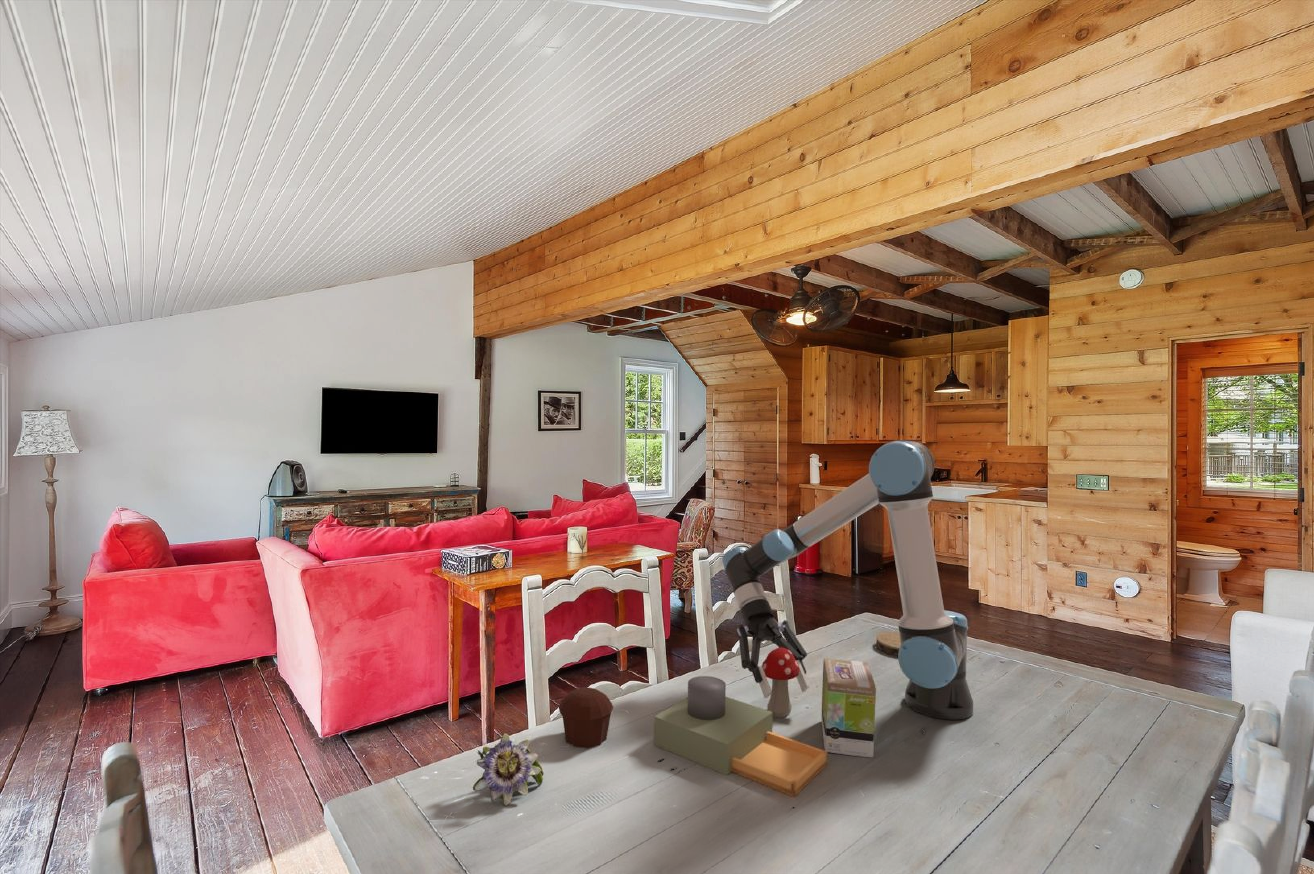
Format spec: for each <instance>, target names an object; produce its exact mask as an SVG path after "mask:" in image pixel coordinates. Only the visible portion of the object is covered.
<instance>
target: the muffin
mask: <svg viewBox="0 0 1314 874" xmlns="http://www.w3.org/2000/svg"><path fill="white" fill-rule="evenodd" d="M613 709H615V708H614V705H613V703H612V701H610V698H609V696H607V694H605V692H602V691H601V690H598V689H597V688H593V687H579V688H576V689H574V690H572V691H569V692H568V693H567V694H566V695H565V697H564V698H562V700H561V702H560V704H559V705H558V712H559V713H560V716H562V722H563V729H564V738H565V743H566V744H569V745H570V746H572V747H574V748H580V749H581V748H583V749H590V748H594V747H598V746H601V745H602V744H603V743H604V742H605V741H607V738H608V732H609V727H610V720H611V715H612V711H613Z"/></svg>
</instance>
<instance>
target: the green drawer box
mask: <svg viewBox="0 0 1314 874" xmlns="http://www.w3.org/2000/svg"><path fill="white" fill-rule="evenodd" d="M726 686H727V685H726V682H725V681H724V680H723V679H721V678H718V677H715V676H709V675H700V676H695V677H692V678H690V679H688V682H687V697H686V698H685V699H683V700H680V701H679V702H677V703H676V704H674V705H671V706H669V708H667V709H665V710H663V711H661V712H659V713H658V714H656V715H655V716H653V719H654V720H653V745H654V746H655V747H658V748H661V749H664V750H665V751H668V752H670V753H673V754H676V755H678V756H680V757H683V758H684V759H687V760H689V761H692V762H694V763H697V764H700V765H701V766H704V767H706V768H708V769H711V770H714V771H716V772H718V773H721V774H723V775H726V776H728V775H729V774H731V773H735V774H737V775H739V776H742V777H744V778H746V779H749V780H751V781H753V782H756V783H759V784H761V785H763V786H766V787H768V788H770V789H773V790H776V791H778V792H781V793H783V794H786V795H788V796H789V797H793V798H795V797H796V796H797V795H798V794H799V793H800V792H802V790H803V789H804V788H805V787H806V786H807V785H809V784H810V782H811V781H812V780H813V779H815V777H816V776H817V775H818V774H819V773H820V772H821V771H822V770H823V769H824V768H826V767H827V765H828V758H829V757H828V753H829V752H827V751H825V749H821V748H818V747H815V746H812V745H809V744H808V743H807V744H806V743H804V742H801V741H798V740H795V739H792V738H789V737H786V736H783V735H780V734H778V733H774V732H773V718H774V716H773V712H771V711H768V709H764V708H762V707H759V706H755V705H752V704H749V703H746V702H743V701H740V700H737V699H734V698H731V697H728V696H726V692H727V691H726Z"/></svg>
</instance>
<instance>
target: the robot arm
mask: <svg viewBox="0 0 1314 874" xmlns="http://www.w3.org/2000/svg"><path fill="white" fill-rule="evenodd" d="M934 470H935V459H934V455H933V454H932V452H931V450H930V449H928V447H927V446H925V445H924V444H922V443H921V442H918V441H915V440H894V441H890V442H886V443H885V444H883V445H882V446H880V447H879V448H878V449H876V451H874V453H873V455H872V456H871V458H870V461H869V464H868V473H866V475H864V476H863V477H861V478H860V479H858V480H857V481H855V482H854V483H852V484H851V485H849V486H848V487H846V488H845V489H843V490H842V491H840V492H839V493H837V494H836V495H834V496H833V497H831V498H829V499H828V500H826V501H824V502H823V503H822V504H820V505H819V506H817V507H816V508H815V509H813V510H811V511H810V512H809V513H807V514H805V515H804V516H802V517H801V518H800V519H798V520H796V521H794V523H792V524H790V525H789V526H787V527H786V528H784V529H782V530H781V529H779V528H777V529H774V530H772V531H771V532H769V533H767V534H765V535H764V536H763V537H762V538H761V539H760V540H759V541H757V542H755V543H754V544H753V545H752V546H751V547H748V548H746V547H742V546H737V547H734V548H732V549H729V550H727V551H726V552H725V553H724V554H723V556H722V564H723V567H724V574H725V575H726V576H727V577H726V578H727V579H728V581H729V582H728V583H729V584H730V586H731V589H732V592H733V595H734V598H735V601H736V604H737V606H738V609H739V610H740V614H741V617H742V620H743V623H744V624H745V625H743V624H740V625H739V627H737V629H736V630H735V633H736V635H737V638H738V642H739V652H740V661H741V667H742V669H744V670H746V669H747V670H748V671H749V672H750V673H752V676H753V679H754V681H755V683H756V684H759V686H760V689H761V693H762V696H763V698H764V699H767V698H770V696H771V693H772V688H771V686H770V683H769V680H768V678H767V677H766V675H765V672H764V670H763V667H762V664H761V665H759V662H760V661H759V660H760V654H761V653H760V652H761V643H763V642H765V641H766V642H769V641H770V642H772V644H775V645H776V646H777V648H786V649H788V650H789V651H790V652H791V653H792V654H793V655H794V657H795V660H796V661H797V663H798V665H799V670H800V672H799V675H798V676H797V677H796V680H797V682H798V685H799V687H800V690H801V691H802V693H805V692H806V691H807V690H808V689H809V688H810V687H811V686H810V683H809V681H808V678H807V676H806V674H807V669H806V667H805V665H804V662H803V660H804V659H806V657H807V656H808V653H807V652H806V650H805V648H804V647H803V645H802V644H801V642H800V641H799V640H798V638H797V637H796V635H795V634H794V632H793V631H792V630H791V627H790V625H789V621H788V620H787V619H784V620H783V621H782V622H781V621H779V622H778V621H777V620H776V619H775V618H774V611H773V609H772V606H771V605H770V602H769V601H768V596H767V595H766V592H765V589H764V587H763V585H762V583H761V580H760V577H761V576H763V575H765V574H766V573H767V572H769V571H770V570H772V569H774V568H775V567H777V566H779V565H780V564H782V563H784V562H786V561H788V560H790V559H793V558H796V557H797V556H800V555H801V554H802V553H803V552H804V551H806V550H808V548H810V547H812V546H813V545H815V544H817V543H819V542H820V541H822V540H823V539H825V538H826V537H828V536H830V535H831V534H833V533H835V531H837V530H839V529H840V528H842V527H844V526H845V525H846V524H849V523H850V522H851V521H854V519H856V518H858V517H859V516H861V515H863V514H864V513H866V512H867V511H869V510H871V509H872V508H874V507H876V506H878V505H881V506H882V507H884V508H885V509H886V512H887V516H888V524H889V529H890V530H889V531H890V536H891V542H892V544H891V545H892V550H893V556H894V561H895V568H896V575H897V580H898V589H899V595H900V601H901V607H902V608H901V609H902V613H903V615H902V616H901V617H900V618H899V620H898V621H897V626H898V632H899V634H900V641H901V646H900V648H899V652H898V653H899V654H898V657H897V659H898V665H899V667H900V669H901V671H902V673H903V675H904V676H905V677H906V678H907V679H908V680H909V681H908V683H907V685H906V688H905V692H904V702H905V704H906V705H907V706H908V707H909V708H910V709H912V710H914V711H915V712H917V713H919V714H922V715H925V716H928V717H932V718H936V719H940V720H941V719H942V720H947V721H948V720H950V721H952V720H953V721H955V720H956V721H957V720H965V719H968V718H970V717H972V716H973V714H974V701H973V697H972V694H971V691H970V690H971V689H970V688H969V684H968V680H967V655H968V654H967V652H968V649H967V647H968V630H969V627H968V619H967V617H966V616H965V615H964V614H961V613H959V612H955V611H952V610H951V611H950V610H945V608H944V603H943V601H944V600H943V596H942V595H943V594H942V590H941V589H942V588H941V582H940V576H939V571H938V564H937V559H936V558H937V557H936V552H935V551H936V550H935V546H934V540H933V534H932V533H933V532H932V527H931V521H930V516H929V515H930V514H929V510H928V509H929V508H928V505H929V503H930V502H931V501H932V500H933V498H934V495H933V493H934V492H933V487H932V480H931V478H932V476H933V474H934V472H935V471H934ZM748 634H750V635H751V636H752V639H751V645H752V646H751V654H750V646H749V637H748Z"/></svg>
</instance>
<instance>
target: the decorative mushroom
mask: <svg viewBox="0 0 1314 874" xmlns="http://www.w3.org/2000/svg"><path fill="white" fill-rule="evenodd" d="M761 665H762V667H763V670H764V672H765V675H766V678H767V679H770V680H771V683H772V684H771V691H772V693H771V694H770V696H769V700H768V703H767V704H766V705H767V710H768V711H771V712H773V718H785V717H788V716H790V714H791V711H792V708H793V705H792V702H791V699H790V693H789V680H792V679H795V678H797V676H798V675H799V672H800V670H799V665H798V663H797V661H796V660H795V657H794V655H793V654H792V653H791V652H790V651H789V650H788V649H786V648H779V647H776V648H774V649H772V650H770V651H769V653H768V654H767V656H766V657H765V660H763V662H762V664H761Z"/></svg>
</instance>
